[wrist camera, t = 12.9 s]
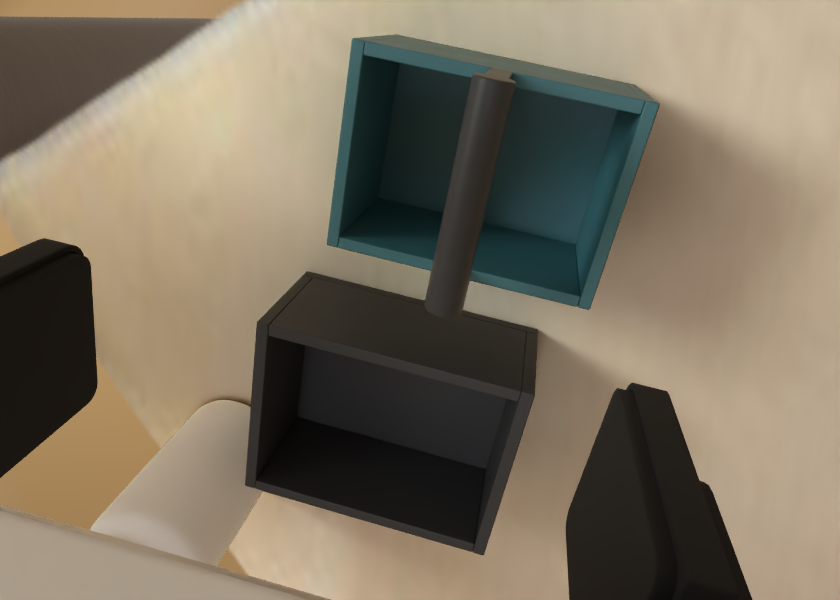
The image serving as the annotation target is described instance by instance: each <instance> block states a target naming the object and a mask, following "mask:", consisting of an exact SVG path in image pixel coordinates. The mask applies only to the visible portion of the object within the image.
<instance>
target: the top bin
mask: <svg viewBox="0 0 840 600" xmlns="http://www.w3.org/2000/svg"><path fill="white" fill-rule="evenodd" d="M658 108H659V103H658V102H656V101H655V100H654V99H652V98H651V97H650V96H649V95H647V94H646V93H645V92H643V91H642V90H641V89H639V88H638V87H637V86H636V85H633V84H628V83H623V82H619V81H614V80H609V79H604V78H600V77H595V76H590V75H585V74H581V73H576V72H571V71H566V70H562V69H557V68H552V67H547V66H543V65H538V64H533V63H528V62H524V61H519V60H514V59H509V58H505V57H500V56H495V55H490V54H486V53H481V52H476V51H471V50H467V49H462V48H457V47H452V46H448V45H443V44H438V43H433V42H429V41H424V40H419V39H415V38H410V37H405V36H400V35H387V36H375V37H363V38H353V39H352V44H351V52H350V60H349V68H348V76H347V85H346V93H345V101H344V109H343V117H342V125H341V133H340V141H339V149H338V157H337V166H336V174H335V182H334V190H333V198H332V206H331V214H330V222H329V230H328V239H327V245H329V246H333V247H338V248H341V249H345V250H349V251H353V252H357V253H361V254H365V255H369V256H373V257H378V258H382V259H386V260H390V261H394V262H398V263H402V264H406V265H410V266H414V267H418V268H422V269H426V270H430V271H431V275H430V280H429V285H428V289H427V294H426V299H425V304H424V306H425V309H426V310H427V311H428V312H429V313H431V314H433V315H435V316H438V317H442V318H456V317H458V316H460V314H461V313H462V309H463V305H464V301H465V297H466V293H467V289H468V284H469V280H470V281H474V282H478V283H482V284H486V285H490V286H495V287H499V288H503V289H507V290H511V291H515V292H519V293H523V294H527V295H531V296H535V297H539V298H543V299H547V300H551V301H555V302H559V303H563V304H567V305H571V306H575V307H577V306H578V307H579V308H583V309H587V310H589V309H590V307H591V304H592V301H593V298H594V295H595V292H596V289H597V287H598V284H599V281H600V278H601V275H602V272H603V269H604V266H605V263H606V260H607V257H608V254H609V251H610V249H611V246H612V243H613V240H614V237H615V234H616V231H617V228H618V225H619V222H620V219H621V216H622V213H623V210H624V208H625V205H626V202H627V199H628V196H629V193H630V190H631V187H632V184H633V181H634V178H635V175H636V172H637V170H638V167H639V164H640V161H641V158H642V155H643V152H644V149H645V146H646V143H647V140H648V137H649V134H650V131H651V129H652V126H653V123H654V120H655V117H656V114H657V111H658Z"/></svg>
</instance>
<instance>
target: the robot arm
mask: <svg viewBox="0 0 840 600" xmlns="http://www.w3.org/2000/svg"><path fill="white" fill-rule="evenodd" d="M96 389H97V366H96V348H95V331H94V314H93V296H92V279H91V265H90V262H89V260H88V258H86V257H85V256H84V254H83V252H82V251H81V249H80V248H79V247H77V246H74V245H70V244H66V243H62V242H58V241H54V240H49V239H45V238H44V239H40V240H37V241H35V242H32V243H30V244H28V245H26V246H23V247H21V248H19V249H16V250H14V251H12V252H10V253H7V254H5V255H3V256H0V478H1V477H2V476H3V475H4V474H5V473H7V472H8V471H9V470H10V469H11V468H13V467H14V466H15V465H16V464H17V463H18V462H20V461H21V460H22V459H23V458H24V457H26V456H27V455H28V454H29V453H30V452H31V451H33V450H34V449H35V448H36V447H37V446H39V445H40V444H41V443H42V442H43V441H44V440H46V439H47V438H48V437H49V436H50V435H52V434H53V433H54V432H55V431H56V430H57V429H59V428H60V427H61V426H62V425H63V424H64V423H66V422H67V421H68V420H69V419H70V418H72V417H73V416H74V415H75V414H76V413H77V412H79V411H80V410H81V409H82V408H83V407H84V406H86V405H87V404H88V403H89V402H90V401H91V399H92V398H93V396H94V394H95V392H96ZM566 544H567V562H568V581H569V599H570V600H752V597H751V595H750V592H749V589H748V587H747V584H746V581H745V579H744V576H743V573H742V570H741V568H740V565H739V562H738V560H737V557H736V554H735V552H734V549H733V546H732V543H731V541H730V538H729V535H728V533H727V530H726V527H725V525H724V522H723V519H722V516H721V514H720V511H719V508H718V506H717V503H716V500H715V498H714V495H713V492H712V491H711V489H710V487H709V485H707V484H706V483H704V482H702V481H699V478H698V476H697V473H696V470H695V467H694V464H693V461H692V458H691V456H690V453H689V450H688V447H687V444H686V441H685V439H684V436H683V433H682V430H681V427H680V424H679V421H678V419H677V416H676V413H675V410H674V407H673V404H672V401H671V399H670V396H669V394H668V392H667V391H663V390H659V389H655V388H651V387H647V386H643V385H639V384H635V383H631V384H630V385H629V386H628V388H627V389H626V390H623V389H619V388H617V389H616V390H615V392H614V394H613V396H612V398H611V401H610V403H609V406H608V409H607V411H606V414H605V416H604V419H603V422H602V424H601V427H600V430H599V432H598V435H597V437H596V440H595V443H594V445H593V448H592V450H591V453H590V456H589V458H588V461H587V464H586V466H585V469H584V471H583V474H582V477H581V479H580V482H579V484H578V487H577V490H576V492H575V495H574V497H573V500H572V503H571V505H570V508H569V511H568V515H567V521H566ZM0 600H330V599H327V598H323V597H320V596H316V595H313V594H310V593H306V592H303V591H299V590H296V589H292V588H289V587H286V586H282V585H279V584H275V583H272V582H268V581H265V580H262V579H258V578H255V577H251V576H248V575H244V574H241V573H238V572H234V571H230V570H227V569H224V568H220V567H217V566H213V565H210V564H206V563H203V562H199V561H196V560H192V559H189V558H185V557H182V556H178V555H175V554H171V553H168V552H164V551H161V550H157V549H154V548H150V547H147V546H143V545H140V544H136V543H133V542H129V541H126V540H122V539H119V538H115V537H112V536H108V535H105V534H101V533H98V532H94V531H91V530H87V529H84V528H80V527H76V526H73V525H69V524H66V523H63V522H59V521H55V520H52V519H48V518H45V517H41V516H38V515H34V514H31V513H27V512H23V511H20V510H17V509H13V508H9V507H6V506H2V505H0Z"/></svg>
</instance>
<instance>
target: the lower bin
mask: <svg viewBox="0 0 840 600" xmlns="http://www.w3.org/2000/svg"><path fill="white" fill-rule="evenodd" d="M424 304H425V301H422V300H418V299H414V298H410V297H406V296H403V295H399V294H395V293H391V292H387V291H383V290H379V289H375V288H371V287H367V286H363V285H359V284H355V283H351V282H347V281H343V280H339V279H335V278H331V277H327V276H323V275H320V274H316V273H312V272H306V273H305V274H304V275H303V276H302V277H301V278H300V279H299V280H298V281H297V282H296V283H295V284H294V285H293V286H292V287H291V288H290V289H289V290H288V291H287V292H286V293H285V294H284V295H283V296H282V297H281V298H280V299H279V300H278V301H277V302H276V303H275V304H274V305H273V306H272V307H271V308H270V309H269V310H268V312H267V313H266V314H265V315H264V316H263V317H262V318H261V319H260V320H259V321H258V322H257V329H256V343H255V356H254V370H253V383H252V397H251V410H250V423H249V437H248V450H247V464H246V477H245V486H248V487H251V488H256V489H258V490H261V491H265V492H268V493H272V494H275V495H278V496H282V497H285V498H289V499H292V500H296V501H299V502H302V503H306V504H309V505H313V506H316V507H320V508H323V509H326V510H330V511H333V512H337V513H340V514H344V515H347V516H350V517H354V518H357V519H361V520H364V521H368V522H371V523H374V524H378V525H381V526H385V527H388V528H392V529H395V530H398V531H402V532H405V533H409V534H412V535H416V536H419V537H422V538H426V539H429V540H433V541H436V542H440V543H443V544H446V545H450V546H453V547H457V548H460V549H464V550H467V551H470V552H472V551H473V553H477V554H480V555H484V553H485V549H486V546H487V543H488V540H489V537H490V534H491V531H492V527H493V524H494V521H495V518H496V515H497V512H498V509H499V506H500V502H501V499H502V496H503V493H504V490H505V487H506V484H507V481H508V477H509V474H510V471H511V468H512V465H513V462H514V459H515V456H516V452H517V449H518V446H519V443H520V440H521V437H522V434H523V430H524V427H525V424H526V421H527V418H528V415H529V412H530V409H531V405H532V402H533V399H534V396H535V378H536V357H537V334H538V330H537V329H533V328H529V327H525V326H521V325H517V324H513V323H509V322H505V321H501V320H497V319H493V318H489V317H486V316H482V315H478V314H474V313H470V312H466V311H462V313H461V314H460V316H458V317H456V318H442V317H438V316H435V315H433V314H431V313H429V312H428V311H427V310H426V309H425V306H424Z"/></svg>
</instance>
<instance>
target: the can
mask: <svg viewBox="0 0 840 600" xmlns="http://www.w3.org/2000/svg"><path fill="white" fill-rule="evenodd" d="M250 410H251V406H248V405H246V404H243V403H240V402H236V401H231V400H217V401H213V402H210V403H207V404H205V405H203V406H202V407H200V408H199V409H198V410H197V411H196V412H195V413H194V414H193V415H192V416H191V417H190V418H189V419H188V420H187V421H186V422H185V423H184V424H183V425H182V426H181V427H180V429H179V430H178V431H177V432H176V433H175V434H174V435H173V436H172V437H171V438H170V439H169V441H168V442H167V443H166V444H165V445H164V446H163V447H162V448H161V449H160V450H159V451H158V453H157V454H156V455H155V456H154V457H153V458H152V459H151V460H150V461H149V462H148V463H147V465H146V466H145V467H144V468H143V469H142V470H141V471H140V472H139V473H138V474H137V476H136V477H135V478H134V479H133V480H132V481H131V482H130V483H129V484H128V485H127V486H126V488H125V489H124V490H123V491H122V492H121V493H120V494H119V495H118V496H117V498H116V499H115V500H114V501H113V502H112V503H111V504H110V505H109V506H108V507H107V509H106V510H105V511H104V512H103V513H102V514H101V515H100V517H99V518H98V519H97V520H96V521H95V523H94V524H93V525H92V527H91V528H90V530H91V531H94V532H98V533H101V534H105V535H108V536H112V537H115V538H119V539H122V540H126V541H129V542H133V543H136V544H140V545H143V546H147V547H150V548H154V549H157V550H161V551H164V552H168V553H171V554H175V555H178V556H182V557H185V558H189V559H192V560H196V561H199V562H203V563H206V564H210V565H213V566H217V565H218V563H219V562H220V560H221V558H222V557H223V555H224V554H225V552H226V550H227V549H228V547H229V546H230V544H231V542H232V541H233V539H234V538H235V536H236V534H237V533H238V531H239V529H240V528H241V526H242V525H243V523H244V521H245V520H246V518H247V516H248V515H249V513H250V512H251V510H252V508H253V507H254V505H255V503H256V502H257V500H258V498H259V497H260V495H261V494H262V492H263V491H261V490H258V489H256V488H251V487H248V486H245V477H246V464H247V450H248V437H249V423H250Z"/></svg>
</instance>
